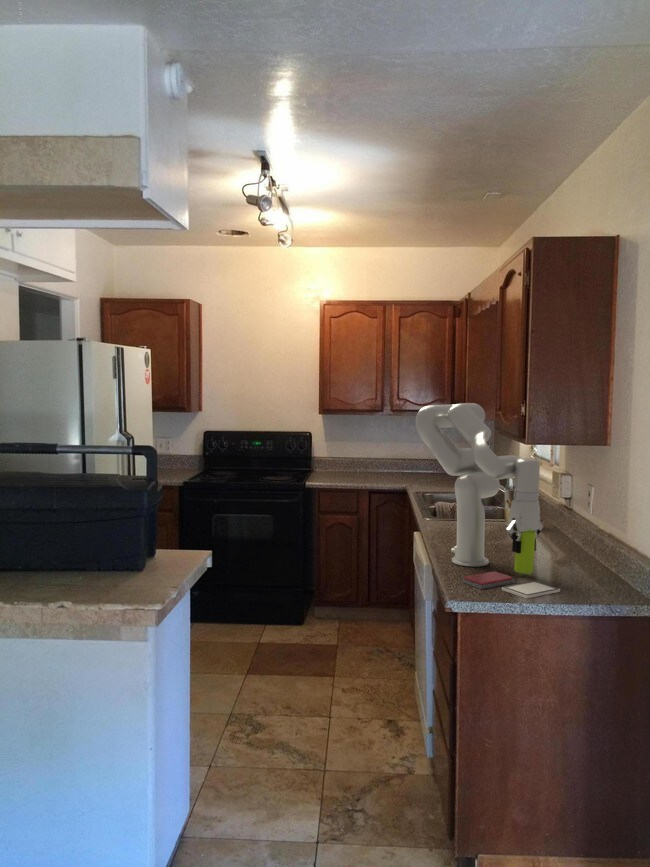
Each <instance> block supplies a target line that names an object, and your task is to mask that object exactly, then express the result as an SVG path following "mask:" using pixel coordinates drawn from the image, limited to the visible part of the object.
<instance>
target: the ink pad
mask: <svg viewBox="0 0 650 867" xmlns="http://www.w3.org/2000/svg"><path fill="white" fill-rule="evenodd" d="M461 583H462V584H465V585H468V586H470V587H474V588H476V589H479V590H485V589H490V588H495V587H496V588H497V587H503V586H508V585H514V584H516V579H515V578H513V576H510V575H507V574H504V573H501V572H498V571H489V572H483V573H479V574H472V575H466V576H463V577H462V578H461Z"/></svg>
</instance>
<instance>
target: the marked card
mask: <svg viewBox="0 0 650 867" xmlns="http://www.w3.org/2000/svg"><path fill="white" fill-rule="evenodd" d="M501 590H502V591H503V592H507V593H510V594H512V595H515V596H518V597H521V598H523V599H526V600H527V599H531V598H537V597H540V596H546V595H550V594H556V593H561V588H559V587H556V586H552V585H549V584H545V583H543V582H540V581H538V580H530V581H525V582H521V583H520V582H519V583H513V584H508V585H503V586H501Z"/></svg>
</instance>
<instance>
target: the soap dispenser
mask: <svg viewBox="0 0 650 867" xmlns="http://www.w3.org/2000/svg"><path fill="white" fill-rule="evenodd" d="M517 535H518V533H516V536H517ZM535 535H536V532H534V531H531V528H530V529H529V531H527V532H522V535H521V538H520V541H521V553H516V552H514V565H513V571H514V572H516V573H520V574H526V575H527V574H533V570H534V557H535V551H534V548H535Z"/></svg>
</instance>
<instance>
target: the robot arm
mask: <svg viewBox="0 0 650 867" xmlns="http://www.w3.org/2000/svg"><path fill="white" fill-rule="evenodd" d="M485 419H486V412H485V410H484V408H483V407H482V406H481V405H480V404H478V403H475V402H472V403H471V402H465V403H464V402H462V403H461V402H459V403H456V404H431V405H426V406H424V407H423V406H422V407H421V408H420V409H419V410H418V412H417V413H416V416H415V428H416V432H417V434H418V436H419V438H420V439H421V441H422V442H423V443H424V444H425V445H426V446H427V448H428V449H429V451H430V452H431V453H432V455H433V456H434V457H435V459H436V460H437V462H438V463H439V465H440V466H441V467H442V469H443V470H444V472H446V474H448V475H449V476H453V477H456V476H457V478H456V480H455V482H454V494H455V499H456V500H455V502H456V545H455V546H454V547H452V548H451V549H450V551H451V553H454V556H453V557H452V558H451V562H452V563H453V564H455V565H458V566H464V567H471V568H472V567H484V566H488V565H489V563H490V562H489V559H488V558H487V557H485V530H486V529H485V524H486V521H485V520H486V517H485V516H486V514H485V507H484V504H483V502H482V499H487V498H492V497H494V496H496V495H497V493H498V492H499V491H500V487H501V486H500V480H504V479H505V480H506V479H513V478H514V489H515V491H514V500H513V501H512V504H511V508H510V515H509V526H507V527H506V533H507V534H508V536H509V537H510V539H511V541H512V544H511V545H512V547H511V550H512V553H515V552H516V553H521V541H520V538H521V535H522V532H527V531H529V529H530V528H531V531H534V532H536V535H535V548H534V552H536V550H537V539H538V538H539V535H540V533H541V531H542V529H543V528H544V525H543V524H542V522H541V507H540V501H539V496H540V492H539V491H540V472H541V471H540V466H541V464H540V461H539V460H538V459H536V458H531V457H530V458H529V457H522V456H518V455H514V454H511V455H510V454H509V455H499V456H498V455H497V454H496V453H494V452H493V450H492V449H491V448H490V447H489V445H488V443H487V442H488V441H489V439H490V438H491V436H492V431H491V428H490V427H489V426H488V425H486V423H485ZM446 428H454V429H456V431H457V432H458V433H459V434H460V435H461V436H462V438H464V440H466V442H467V443H468V444H469V445H470V447H466V448H462V447H459V446H458V445H457V444H456V443H455V442H454V440H453V439H452V438H451V437H450V435H448V434H447V433H446V432H445V431H444V430H442V429H446ZM517 533H518V535H517Z"/></svg>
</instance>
